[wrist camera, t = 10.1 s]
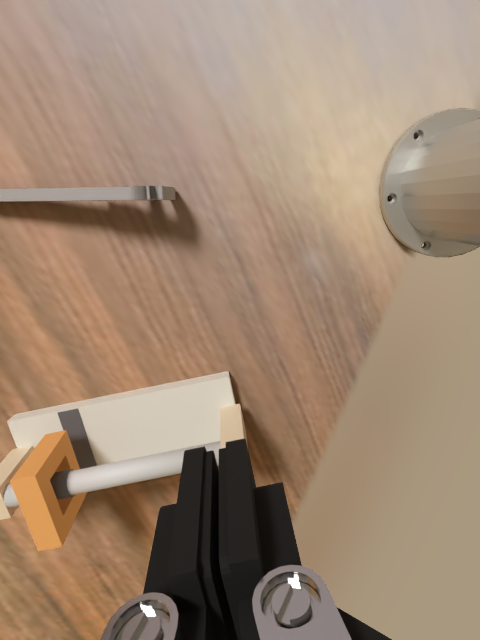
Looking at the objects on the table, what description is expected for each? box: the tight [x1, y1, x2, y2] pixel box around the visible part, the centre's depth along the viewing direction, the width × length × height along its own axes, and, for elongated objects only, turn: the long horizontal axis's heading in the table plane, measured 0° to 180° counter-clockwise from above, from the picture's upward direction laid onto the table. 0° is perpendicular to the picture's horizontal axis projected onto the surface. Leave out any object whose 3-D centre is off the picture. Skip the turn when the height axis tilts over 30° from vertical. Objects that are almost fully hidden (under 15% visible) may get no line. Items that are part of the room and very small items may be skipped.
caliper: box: [0, 186, 176, 202], centre depth 34 cm, size 20×1×6 cm, turn 91°
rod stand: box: [0, 371, 248, 520], centre depth 39 cm, size 23×9×8 cm, turn 101°
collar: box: [10, 430, 87, 551], centre depth 36 cm, size 2×7×7 cm, turn 11°
